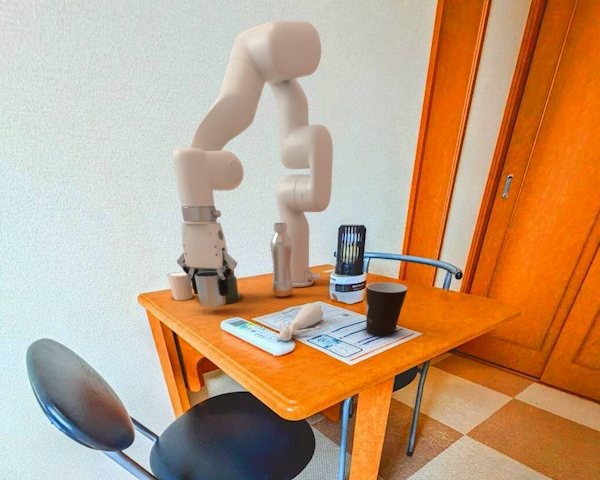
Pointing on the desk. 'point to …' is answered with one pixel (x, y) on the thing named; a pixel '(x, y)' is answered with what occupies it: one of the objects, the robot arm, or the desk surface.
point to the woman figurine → (302, 321)
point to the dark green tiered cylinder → (232, 283)
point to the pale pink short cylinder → (180, 285)
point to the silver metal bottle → (281, 261)
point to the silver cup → (209, 289)
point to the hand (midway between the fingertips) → (211, 293)
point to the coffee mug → (383, 307)
